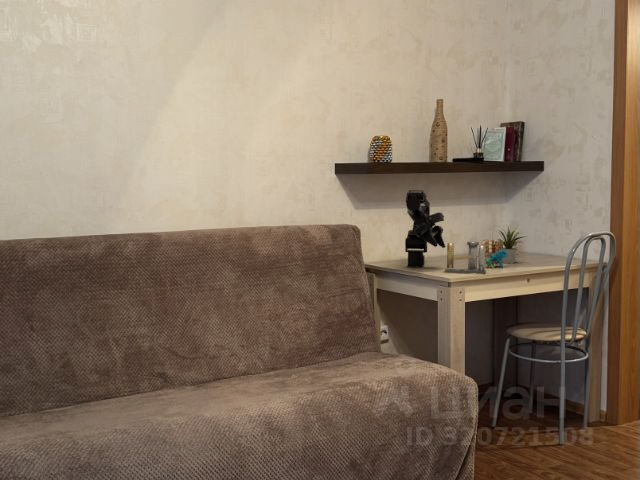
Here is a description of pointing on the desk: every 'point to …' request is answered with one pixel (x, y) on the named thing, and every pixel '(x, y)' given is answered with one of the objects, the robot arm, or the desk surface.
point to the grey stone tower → (473, 256)
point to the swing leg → (452, 255)
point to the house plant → (509, 246)
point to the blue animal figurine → (496, 259)
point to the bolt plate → (463, 271)
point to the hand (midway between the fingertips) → (440, 246)
